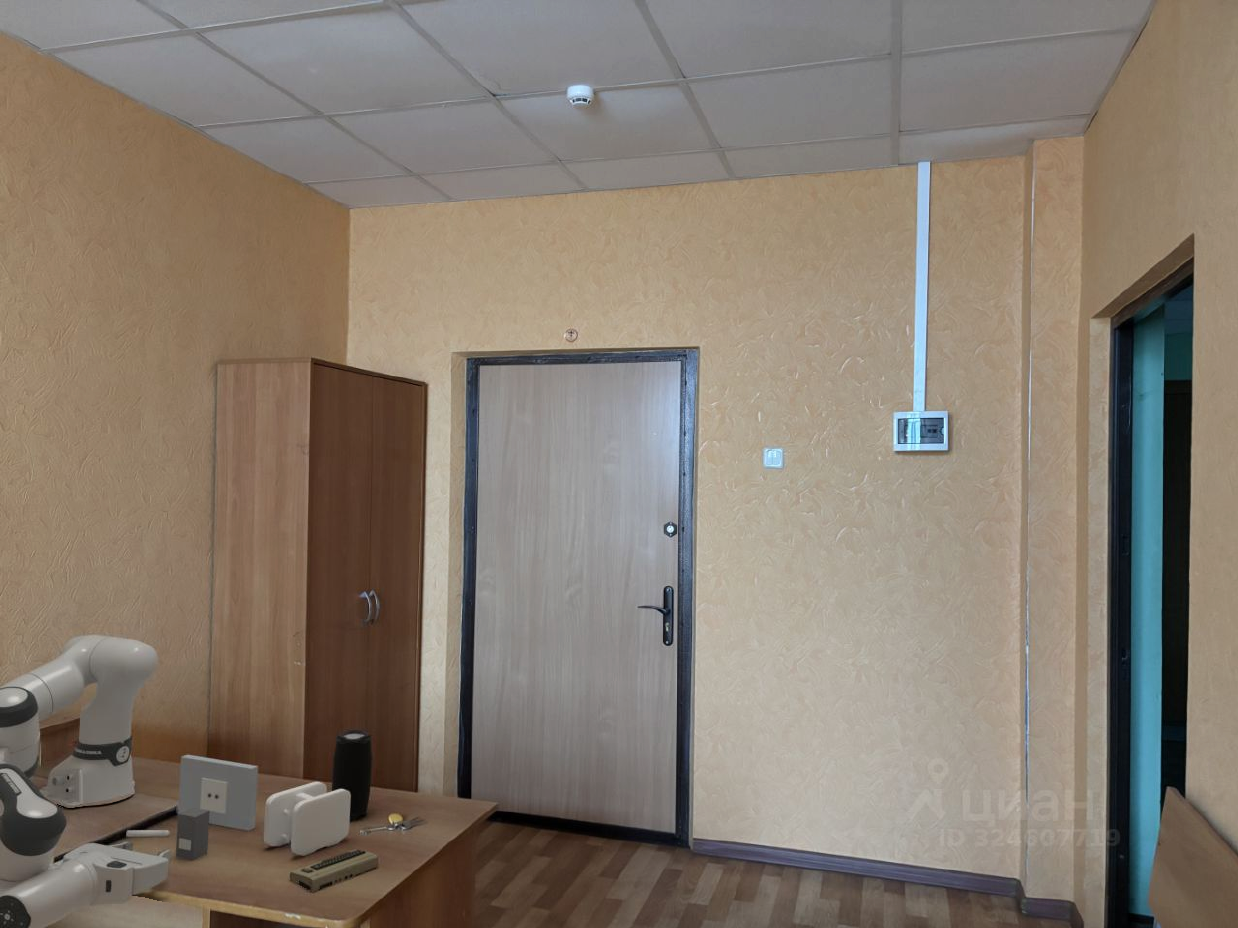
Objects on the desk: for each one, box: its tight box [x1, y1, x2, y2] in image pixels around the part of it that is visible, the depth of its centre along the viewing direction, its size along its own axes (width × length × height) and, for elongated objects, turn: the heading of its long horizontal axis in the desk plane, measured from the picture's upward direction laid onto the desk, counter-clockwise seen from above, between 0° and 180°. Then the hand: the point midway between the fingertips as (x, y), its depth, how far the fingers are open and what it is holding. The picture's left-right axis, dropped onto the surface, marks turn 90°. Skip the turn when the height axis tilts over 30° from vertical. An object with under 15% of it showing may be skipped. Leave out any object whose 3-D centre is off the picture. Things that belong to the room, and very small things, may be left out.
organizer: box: [263, 781, 351, 857], centre depth 197 cm, size 15×11×12 cm
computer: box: [289, 848, 379, 893], centre depth 183 cm, size 16×8×3 cm, turn 142°
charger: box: [175, 807, 210, 861], centre depth 189 cm, size 4×5×9 cm
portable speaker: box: [331, 728, 373, 822], centre depth 214 cm, size 9×9×20 cm
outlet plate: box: [177, 754, 259, 832], centre depth 206 cm, size 20×2×14 cm, turn 73°
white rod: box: [125, 829, 170, 838], centre depth 197 cm, size 9×1×1 cm, turn 98°
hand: (148, 849), depth 177 cm, fingers open, 8 cm apart
